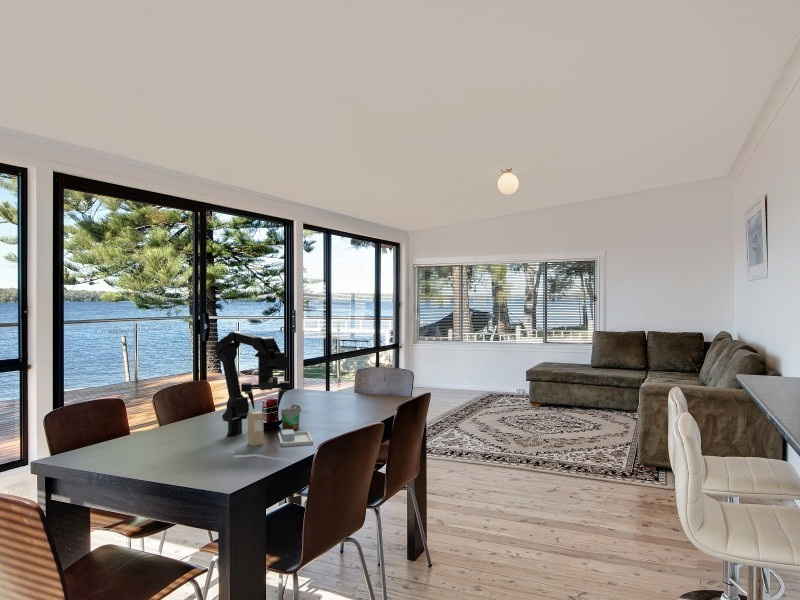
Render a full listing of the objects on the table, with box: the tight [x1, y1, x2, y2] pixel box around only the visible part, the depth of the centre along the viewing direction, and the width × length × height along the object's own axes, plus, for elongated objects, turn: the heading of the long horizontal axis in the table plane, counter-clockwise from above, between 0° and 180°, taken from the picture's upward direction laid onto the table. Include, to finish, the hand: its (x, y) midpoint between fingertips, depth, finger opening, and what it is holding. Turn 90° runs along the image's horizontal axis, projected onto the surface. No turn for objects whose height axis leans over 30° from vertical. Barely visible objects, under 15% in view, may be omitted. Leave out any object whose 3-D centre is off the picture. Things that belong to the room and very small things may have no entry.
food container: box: [280, 404, 302, 431], centre depth 243 cm, size 12×6×10 cm, turn 168°
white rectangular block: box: [281, 429, 295, 441], centre depth 226 cm, size 8×4×2 cm, turn 15°
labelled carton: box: [247, 410, 265, 447], centre depth 218 cm, size 5×4×12 cm
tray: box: [277, 430, 314, 448], centre depth 224 cm, size 18×12×2 cm, turn 15°
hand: (265, 408), depth 225 cm, fingers open, 9 cm apart
